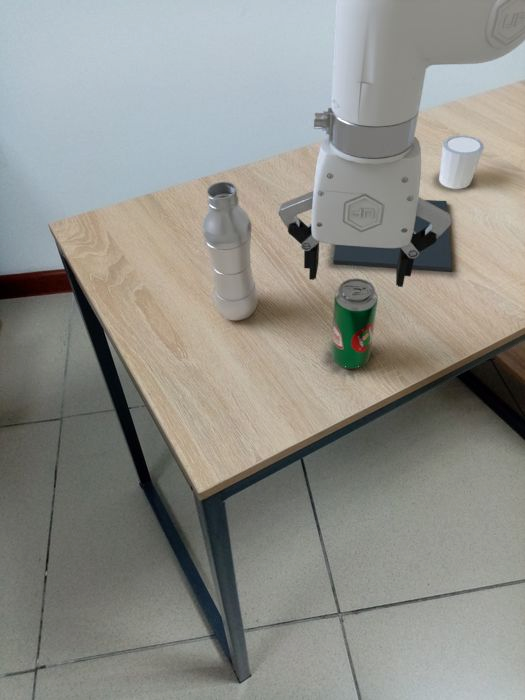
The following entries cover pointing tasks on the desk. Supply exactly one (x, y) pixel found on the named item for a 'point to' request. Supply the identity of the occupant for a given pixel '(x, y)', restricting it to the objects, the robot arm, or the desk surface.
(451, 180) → the shot glass
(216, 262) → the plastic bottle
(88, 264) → the desk surface
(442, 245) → the mat
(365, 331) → the soda can
